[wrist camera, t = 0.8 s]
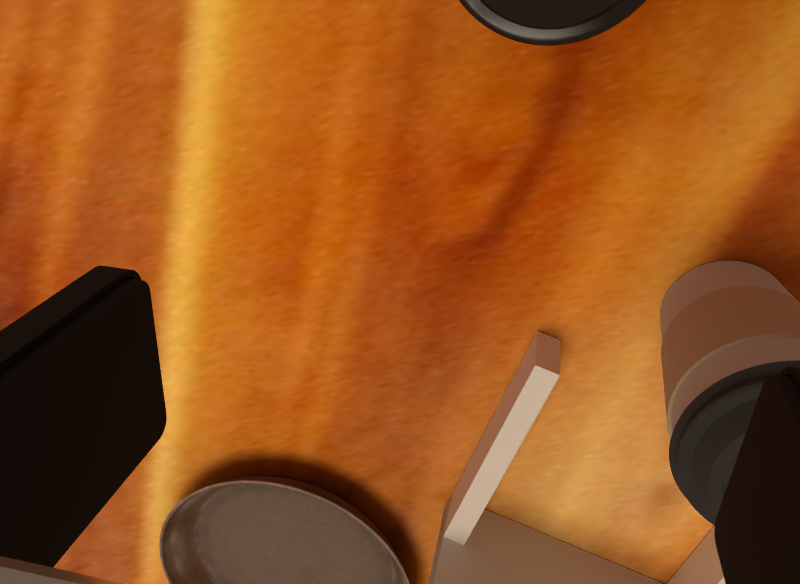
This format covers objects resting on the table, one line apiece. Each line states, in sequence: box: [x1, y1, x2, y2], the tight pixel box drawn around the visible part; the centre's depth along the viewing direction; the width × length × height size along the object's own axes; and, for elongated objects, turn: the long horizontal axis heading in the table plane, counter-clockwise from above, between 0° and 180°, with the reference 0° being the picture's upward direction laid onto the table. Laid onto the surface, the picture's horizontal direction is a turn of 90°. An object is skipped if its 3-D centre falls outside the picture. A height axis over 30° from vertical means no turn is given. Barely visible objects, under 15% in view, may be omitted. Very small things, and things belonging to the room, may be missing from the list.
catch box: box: [429, 331, 726, 584], centre depth 41 cm, size 16×18×10 cm
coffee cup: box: [660, 260, 800, 525], centre depth 33 cm, size 9×9×15 cm
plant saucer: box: [160, 476, 409, 584], centre depth 54 cm, size 21×21×3 cm
